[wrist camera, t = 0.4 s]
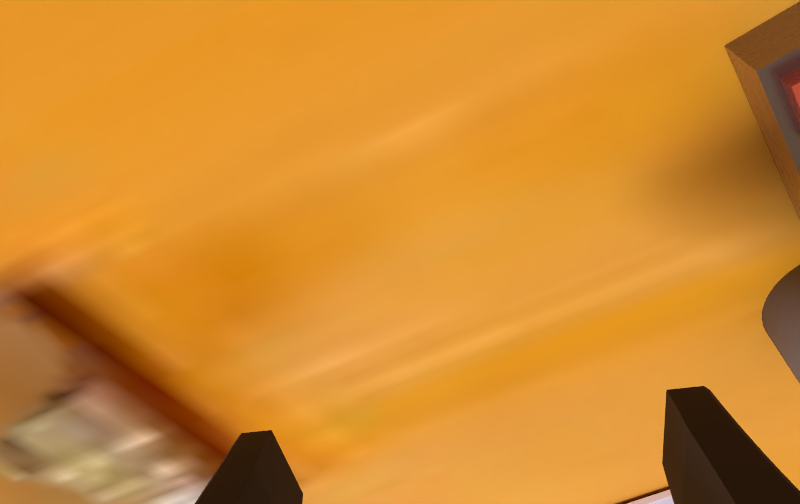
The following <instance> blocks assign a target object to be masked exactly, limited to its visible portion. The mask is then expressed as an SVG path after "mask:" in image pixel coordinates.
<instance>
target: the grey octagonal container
mask: <svg viewBox="0 0 800 504" xmlns="http://www.w3.org/2000/svg"><path fill="white" fill-rule="evenodd" d="M725 48H726V50H727V53H728V55H729V57H730V60H731V62H732V64H733V67H734V69H735V71H736V73H737V76H738V78H739V80H740V83H741V85H742V87H743V90H744V92H745V94H746V97H747V99H748V101H749V103H750V106H751V108H752V110H753V113H754V115H755V117H756V120H757V122H758V124H759V126H760V129H761V131H762V133H763V136H764V138H765V140H766V143H767V145H768V147H769V150H770V152H771V154H772V156H773V159H774V161H775V163H776V166H777V168H778V170H779V173H780V175H781V177H782V179H783V182H784V184H785V186H786V189H787V191H788V193H789V196H790V198H791V200H792V202H793V205H794V207H795V209H796V212H797V214H798V216H799V219H800V2H798V3H797V4H795V5H793V6H792V7H790V8H788V9H787V10H785V11H783V12H781V13H780V14H778V15H776V16H775V17H773V18H771V19H770V20H768V21H766V22H764V23H763V24H761V25H759V26H758V27H756V28H754V29H753V30H751V31H749V32H747V33H746V34H744V35H742V36H741V37H739V38H737V39H736V40H734V41H732V42H730V43H729V44H727V45H725Z"/></svg>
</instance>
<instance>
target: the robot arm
mask: <svg viewBox="0 0 800 504" xmlns="http://www.w3.org/2000/svg"><path fill="white" fill-rule="evenodd" d="M662 464H663V467H664V471H665V474H666V478H667V481H668V485H669V488H670V489H669V490H666V491H663V492H660V493H657V494H654V495H651V496H648V497H645V498H642V499H639V500H636V501H633V502H630V503H627V504H800V491H799V490H798V489H797V488H796V487H795V486H794V485H793V484H792V483H791V482H790V481H789V479H788V478H787V477H786V476H785V475H784V474H783V473H782V472H781V471H780V470H779V469H778V468H777V467H776V466H775V465H774V464H773V463H772V462H771V460H770V459H769V458H768V457H767V456H766V455H765V454H764V453H763V452H762V451H761V449H760V448H759V447H758V446H757V445H756V444H755V443H754V442H753V440H752V439H751V438H750V437H749V436H748V435H747V434H746V433H745V431H744V430H743V429H742V428H741V427H740V426H739V425H738V423H737V422H736V421H735V420H734V419H733V418H732V416H731V415H730V414H729V413H728V412H727V410H726V409H725V408H724V407H723V406H722V404H721V403H720V402H719V401H718V399H717V398H716V397H715V396H714V395H713V393H712V392H711V391H710V390H709V389H707V388H706V387H705V386H700V387H690V388H681V389H671V390H667V391H666V409H665V427H664V444H663V462H662ZM302 499H303V493H302V491H301V489H300V487H299V485H298V483H297V481H296V479H295V477H294V475H293V473H292V471H291V469H290V467H289V465H288V463H287V461H286V459H285V456H284V454H283V452H282V450H281V448H280V446H279V444H278V442H277V440H276V438H275V436H274V434H273V432H272V430H269V431H259V432H249V433H241V435H240V436H239V437H238V439H237V440H236V442H235V443H234V445H233V446H232V448H231V449H230V451H229V452H228V454H227V455H226V457H225V458H224V460H223V461H222V463H221V465H220V466H219V468H218V469H217V471H216V472H215V474H214V475H213V477H212V478H211V480H210V481H209V483H208V484H207V486H206V487H205V489H204V491H203V492H202V494H201V495H200V497H199V498H198V500H197V501H196V503H195V504H302Z"/></svg>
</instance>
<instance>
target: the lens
mask: <svg viewBox="0 0 800 504" xmlns="http://www.w3.org/2000/svg"><path fill="white" fill-rule="evenodd" d="M762 321H763V326H764V328H765V331H766V332H767V334H768V335H769V337H770V338H771V340H772V341H773V343H774V345H775V346H776V348H777V349H778V351H779V352H780V354H781V355H782V357H783V358H784V360H785V362H786V363H787V365H788V366H789V368H790V369H791V371H792V372H793V374H794V376H795V377H796V379H797V380H798V382H799V383H800V265H799V266H797V267H796V268H794V269H793V270H792V271H790V272H789V273H788V274H786V275H785V276H784V277H783V278H782V279H781V280H780V281H779V282H778V283H777V284H776V285H775V287H774V288H773V289H772V291H771V292H770V293H769V295H768V297H767V299H766V301H765V304H764V307H763V311H762Z"/></svg>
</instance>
